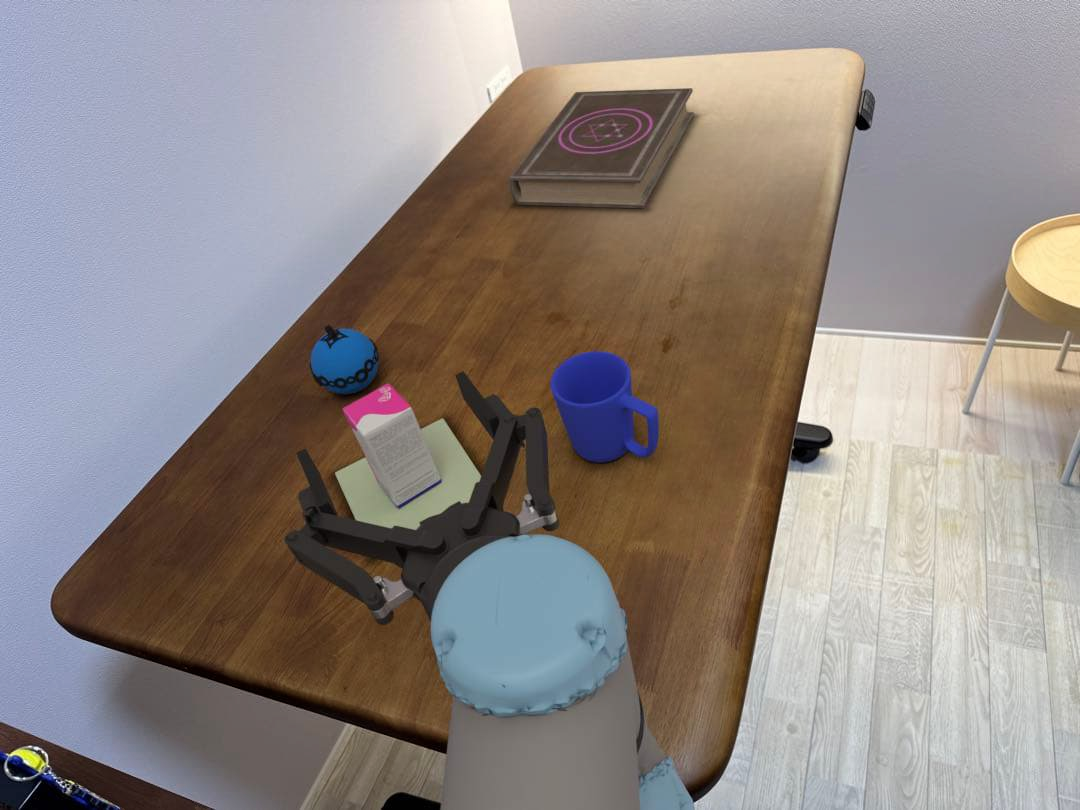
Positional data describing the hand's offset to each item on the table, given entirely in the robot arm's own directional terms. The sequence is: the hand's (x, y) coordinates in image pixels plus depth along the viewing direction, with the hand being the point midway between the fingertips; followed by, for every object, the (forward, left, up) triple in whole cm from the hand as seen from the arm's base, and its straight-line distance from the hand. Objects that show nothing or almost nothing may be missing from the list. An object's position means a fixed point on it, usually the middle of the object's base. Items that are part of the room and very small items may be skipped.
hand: (387, 422), depth 62 cm
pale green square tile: (0, +14, -22) cm, 26 cm away
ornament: (0, +35, -22) cm, 42 cm away
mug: (+21, +4, -22) cm, 31 cm away
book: (+55, +62, -22) cm, 86 cm away
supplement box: (0, +14, -21) cm, 26 cm away
